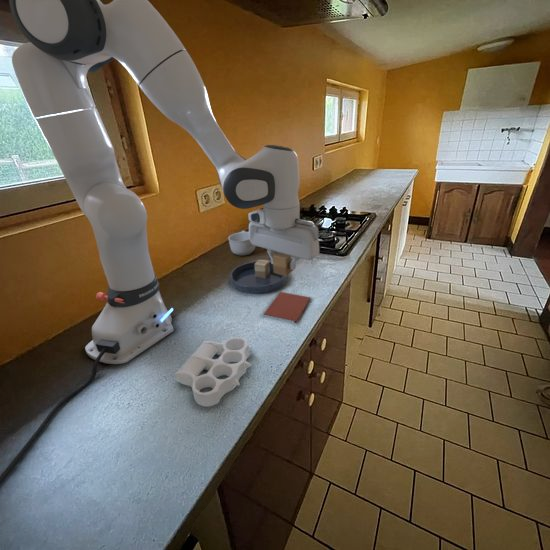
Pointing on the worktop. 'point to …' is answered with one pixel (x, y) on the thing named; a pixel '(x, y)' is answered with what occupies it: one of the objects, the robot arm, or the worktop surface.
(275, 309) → the mat
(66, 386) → the worktop surface
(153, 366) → the worktop surface
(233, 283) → the pan
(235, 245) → the teacup
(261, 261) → the block
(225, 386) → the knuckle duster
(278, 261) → the block
